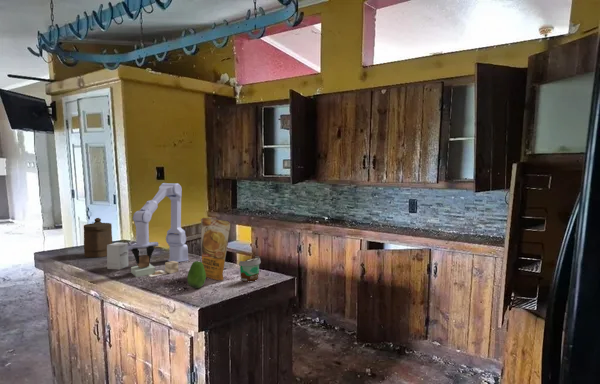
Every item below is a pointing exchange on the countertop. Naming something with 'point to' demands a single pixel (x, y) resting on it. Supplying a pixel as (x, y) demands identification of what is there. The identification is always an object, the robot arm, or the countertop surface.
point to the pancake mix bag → (214, 246)
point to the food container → (249, 269)
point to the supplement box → (117, 256)
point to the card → (158, 273)
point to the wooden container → (97, 238)
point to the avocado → (196, 275)
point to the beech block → (171, 267)
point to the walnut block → (143, 261)
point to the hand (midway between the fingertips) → (143, 262)
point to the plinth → (143, 270)
